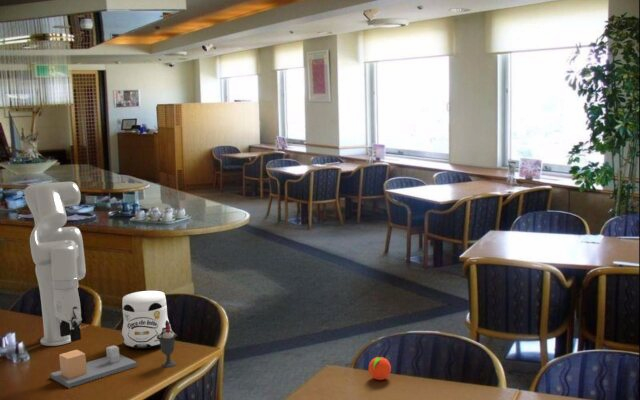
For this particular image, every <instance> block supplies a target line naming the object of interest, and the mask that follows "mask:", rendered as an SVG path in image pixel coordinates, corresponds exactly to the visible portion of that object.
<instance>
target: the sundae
mask: <svg viewBox="0 0 640 400" xmlns="http://www.w3.org/2000/svg"><path fill="white" fill-rule="evenodd" d="M169 324H170V326H167V327H165V328H162V333H161V334H159V335H157V339H159V341H160V345H159V346H160V350H161V353H163V354H164V355H165V356H166V361H165V362H162V364H161V367H163V368H173V367H175V366H177V362H176V361H172V360H171V354H172V353H174V351H175V345H176V343H175V342H176V337H177V336H178V334H177V333H175V332H174V331H173V330H172V327H171V323H170V322H169ZM169 324H168V325H169ZM170 327H171V328H170Z"/></svg>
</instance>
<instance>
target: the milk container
mask: <svg viewBox="0 0 640 400" xmlns="http://www.w3.org/2000/svg"><path fill="white" fill-rule="evenodd" d="M121 303H122V318H123V322H122V323H123V324H122V329H121V337H122V341H123V343H124V345H126V347H128V348H132V349H141V350H142V349H143V350H144V349H151V348H157V347H159V346H160V341H159V339H157V335H159V334H161V333H162V328H165V327H167V326H170V328H171V329H172V327H171V323H170V320H169V318H168V307H167V298H166V294H165V292H163V291H158V290H142V291H135V292H132V293H128V294H125V295H124V296H123V297H122V302H121ZM169 323H170V324H169ZM168 324H169V325H168Z"/></svg>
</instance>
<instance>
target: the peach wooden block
mask: <svg viewBox="0 0 640 400" xmlns="http://www.w3.org/2000/svg"><path fill="white" fill-rule="evenodd" d="M86 363H87V358H86V353H84V352H83V351H82V350H81V351H80V350H78V349H74V350H70V351H67V352H63V353H60V354H59V367H60V370H61V374H62V375H63V376H65V377H67V378H69V379H70V378H74V377H77V376H80V375H83V374H86V373H87V367H86Z"/></svg>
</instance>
